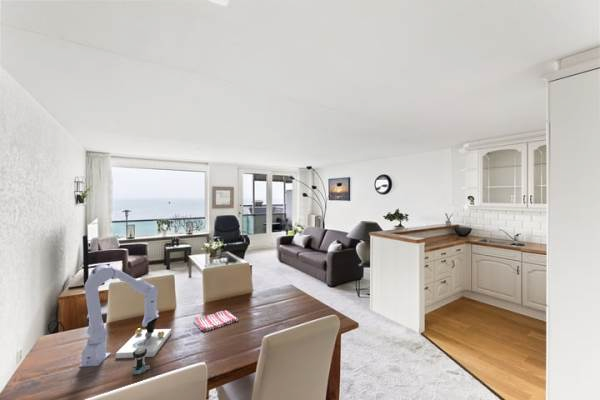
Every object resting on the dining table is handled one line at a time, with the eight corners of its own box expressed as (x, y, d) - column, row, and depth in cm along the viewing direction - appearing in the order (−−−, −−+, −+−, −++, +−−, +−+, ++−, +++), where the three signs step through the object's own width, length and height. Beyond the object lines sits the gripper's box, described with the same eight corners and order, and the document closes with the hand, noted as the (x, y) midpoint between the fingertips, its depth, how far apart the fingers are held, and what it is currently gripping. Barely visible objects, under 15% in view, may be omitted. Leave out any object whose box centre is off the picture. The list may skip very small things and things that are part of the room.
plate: (153, 356, 122) (153, 351, 122) (115, 358, 120) (116, 353, 120) (171, 333, 144) (171, 328, 144) (139, 334, 142) (139, 329, 142)
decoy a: (140, 335, 136) (140, 329, 136) (134, 336, 136) (134, 330, 136) (143, 332, 139) (143, 327, 139) (137, 333, 139) (137, 327, 139)
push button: (149, 366, 115) (150, 344, 115) (149, 372, 111) (150, 350, 111) (132, 370, 112) (133, 347, 112) (131, 377, 107) (132, 354, 108)
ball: (150, 339, 134) (149, 336, 132) (144, 339, 134) (143, 335, 132) (153, 333, 137) (152, 330, 135) (147, 333, 136) (146, 330, 135)
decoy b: (162, 338, 134) (162, 332, 134) (156, 339, 133) (156, 333, 133) (165, 335, 137) (165, 329, 137) (158, 335, 136) (159, 329, 136)
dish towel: (192, 322, 159) (192, 317, 159) (227, 312, 174) (227, 307, 174) (202, 333, 146) (202, 327, 146) (239, 321, 161) (239, 316, 161)
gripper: (152, 313, 129) (152, 339, 130) (163, 302, 144) (163, 325, 144) (137, 314, 129) (137, 340, 129) (150, 302, 143) (150, 326, 143)
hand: (150, 332), depth 136 cm, fingers closed
